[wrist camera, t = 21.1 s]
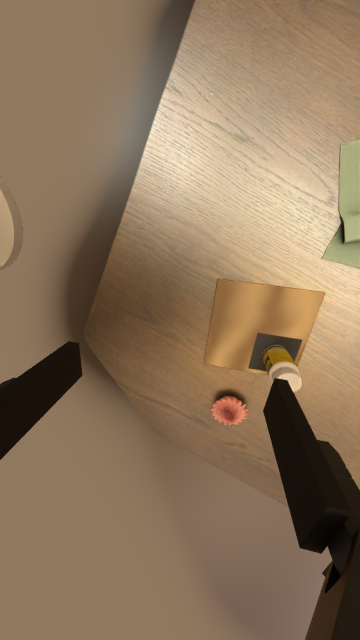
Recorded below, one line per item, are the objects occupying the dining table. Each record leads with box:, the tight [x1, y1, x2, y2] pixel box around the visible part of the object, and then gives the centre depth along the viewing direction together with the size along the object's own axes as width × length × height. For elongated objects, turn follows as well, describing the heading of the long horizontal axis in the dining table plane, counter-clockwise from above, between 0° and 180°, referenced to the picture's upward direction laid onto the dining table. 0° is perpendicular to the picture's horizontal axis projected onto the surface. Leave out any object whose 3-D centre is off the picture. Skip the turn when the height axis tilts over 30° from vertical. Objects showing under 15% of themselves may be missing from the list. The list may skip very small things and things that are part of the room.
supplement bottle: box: [262, 345, 302, 392], centre depth 36 cm, size 5×5×8 cm
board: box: [204, 279, 325, 375], centre depth 39 cm, size 18×18×1 cm
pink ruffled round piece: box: [211, 396, 249, 426], centre depth 44 cm, size 8×8×6 cm
